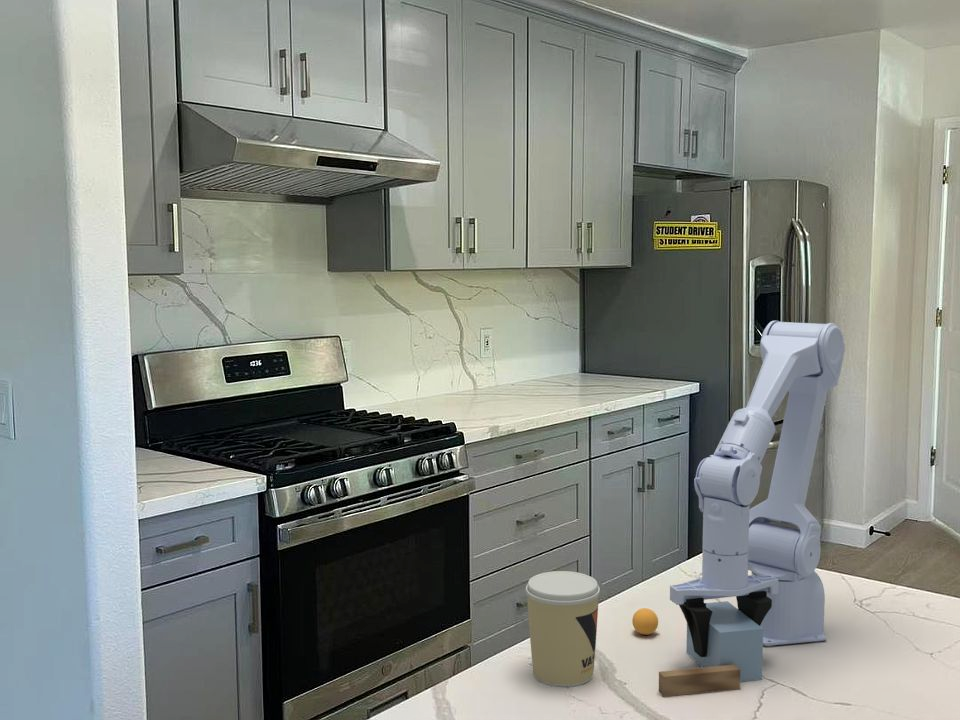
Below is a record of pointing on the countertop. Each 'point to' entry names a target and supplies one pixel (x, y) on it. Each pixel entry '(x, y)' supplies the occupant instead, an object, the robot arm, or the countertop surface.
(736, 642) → the blue-grey rectangular block
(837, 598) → the countertop surface
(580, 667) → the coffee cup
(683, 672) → the brown rectangular block
